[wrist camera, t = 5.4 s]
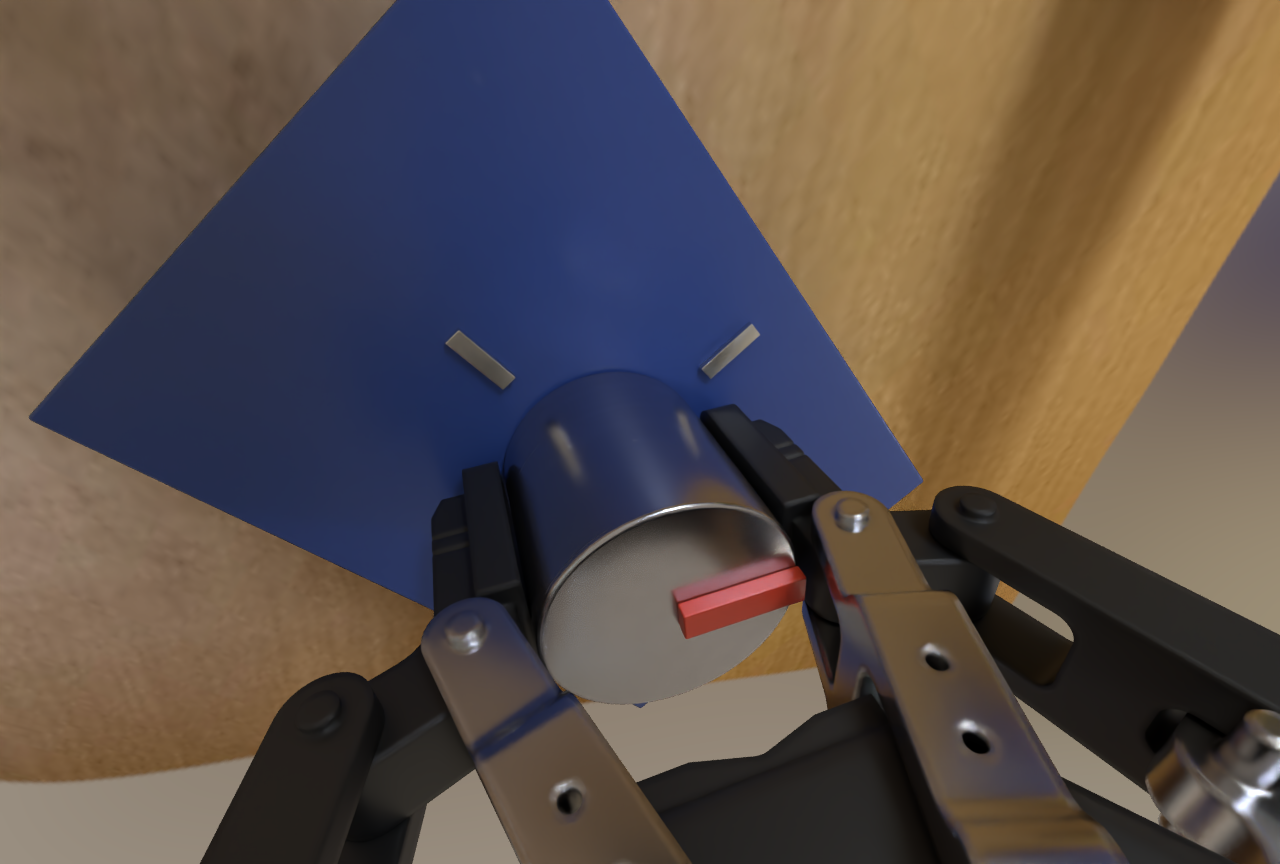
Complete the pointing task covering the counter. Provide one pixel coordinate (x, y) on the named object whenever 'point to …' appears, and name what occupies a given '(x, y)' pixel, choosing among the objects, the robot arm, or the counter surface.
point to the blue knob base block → (455, 290)
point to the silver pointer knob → (640, 542)
